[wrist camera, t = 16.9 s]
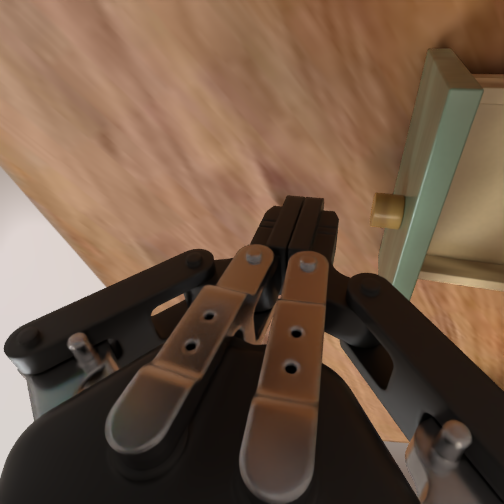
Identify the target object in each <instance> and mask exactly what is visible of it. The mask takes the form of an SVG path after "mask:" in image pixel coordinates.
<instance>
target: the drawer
mask: <svg viewBox="0 0 504 504" xmlns="http://www.w3.org/2000/svg"><path fill="white" fill-rule="evenodd" d="M370 226H371V227H380V228H385V230H384V235H383V239H382V243H381V247H380V251H379V255H378V275H379V276H382V277H384V278H385V279H387V280H388V281H389V282H390V283H391V284H392V285H393V286H394V287H395V288H396V289H397V290H398V291H399V292H400V293H401V294H403V295H404V296H405V297H406V298H407V299H408V300H409V301H410V299H411V296H412V293H413V290H414V288H415V285H416V282H417V279H422V280H429V281H436V282H443V283H449V284H456V285H463V286H470V287H476V288H483V289H490V290H497V291H503V292H504V74H471V73H470V72H469V70H468V69H467V68H466V67H465V65H464V64H463V63H462V62H461V60H460V59H459V58H458V57H457V55H456V54H455V53H454V52H453V50H452V49H450V48H444V49H428V52H427V56H426V60H425V64H424V68H423V72H422V77H421V81H420V85H419V89H418V93H417V97H416V102H415V106H414V110H413V114H412V118H411V122H410V126H409V131H408V135H407V139H406V143H405V147H404V151H403V156H402V160H401V164H400V168H399V172H398V176H397V181H396V185H395V189H394V193H393V194H385V193H375V195H374V199H373V204H372V209H371V216H370Z"/></svg>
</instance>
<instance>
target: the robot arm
mask: <svg viewBox="0 0 504 504" xmlns="http://www.w3.org/2000/svg"><path fill="white" fill-rule="evenodd" d="M323 209H324V198H312V197H306V198H305V197H300V196H289V195H288V196H287V197H286V199H285V202H284V204H283V206H282V207H280V206H273V207H272V208H270V209H269V210H268V211H267V212H266V213H265V215H264V217H263V219H262V221H261V223H260V225H259V227H258V229H257V231H256V233H255V235H254V237H253V239H252V241H251V243H250V245H247V246H245V247H243V248H241V249H240V250H239V251H238V252H237V253H236V255H235V256H234V258H231V259H222V260H214V257H213V255H212V253H210V252H209V251H207V250H204V249H193V250H189V251H186V252H184V253H182V254H180V255H178V256H175V257H173V258H171V259H169V260H166V261H164V262H162V263H160V264H158V265H155V266H153V267H151V268H149V269H147V270H144V271H142V272H140V273H138V274H135V275H133V276H131V277H129V278H127V279H124V280H122V281H120V282H118V283H115V284H113V285H111V286H109V287H107V288H104V289H102V290H100V291H98V292H96V293H93V294H91V295H89V296H87V297H84V298H82V299H80V300H78V301H76V302H73V303H71V304H69V305H67V306H65V307H62V308H60V309H58V310H56V311H53V312H51V313H49V314H47V315H45V316H42V317H40V318H38V319H36V320H33V321H31V322H29V323H27V324H25V325H23V326H21V327H20V328H18V329H17V330H15V331H14V332H13V333H12V334H11V335H10V336H9V338H8V339H7V341H6V342H5V345H4V352H5V354H6V355H7V356H8V358H9V359H10V360H11V361H12V362H13V363H14V364H15V366H16V367H17V368H18V371H19V372H20V374H21V375H22V376H23V377H24V378H25V379H26V380H27V385H28V391H29V396H30V401H31V406H32V411H33V417H34V422H33V423H32V424H31V425H30V426H29V427H28V428H27V429H26V430H25V431H24V432H23V433H22V435H21V436H20V437H19V439H18V440H17V441H16V443H15V445H14V446H13V448H12V449H11V451H10V453H9V455H8V457H7V459H6V462H5V465H4V468H3V471H2V474H1V478H0V504H504V391H503V390H502V389H501V388H500V387H499V386H498V385H497V384H496V383H494V382H493V381H492V380H491V379H490V378H489V377H488V376H487V375H486V374H485V373H484V372H483V371H482V370H481V369H480V368H479V367H478V366H477V365H476V364H475V363H474V362H473V361H471V360H470V359H469V358H468V357H467V356H466V355H465V354H464V353H463V352H462V351H461V350H460V349H459V348H458V347H457V346H456V345H455V344H454V343H453V342H452V341H451V340H450V339H448V338H447V337H446V336H445V335H444V334H443V333H442V332H441V331H440V330H439V329H438V328H437V327H436V326H435V325H434V324H433V323H432V322H431V321H430V320H429V319H428V318H427V317H426V316H424V315H423V314H422V313H421V312H420V311H419V310H418V309H417V308H416V307H415V306H414V305H413V304H412V303H411V302H410V301H409V300H408V299H407V298H406V297H405V296H404V295H403V294H401V293H400V292H399V291H398V290H397V289H396V288H395V287H394V286H393V285H392V284H391V283H390V282H389V281H388V280H387V279H385V278H384V277H382V276H379V275H377V274H372V273H360V274H357V275H354V276H353V277H351V278H350V277H347V276H345V275H342V274H341V273H339V272H338V271H337V270H336V269H335V268H334V267H333V261H334V256H335V250H336V242H337V233H338V223H339V219H338V217H337V215H336V213H335V212H333V211H323ZM183 293H184V296H185V300H184V301H182V302H180V303H178V304H176V305H174V306H172V307H170V308H168V309H166V310H164V311H162V312H160V313H158V314H156V315H154V316H151V313H152V311H153V310H154V309H155V308H156V307H157V306H159V305H161V304H163V303H165V302H167V301H169V300H171V299H173V298H175V297H177V296H179V295H181V294H183ZM279 295H281V298H280V299H278V296H279ZM272 318H273V319H272ZM271 320H272V323H271V328H270V332H269V337H268V341H267V345H261V343H262V341H263V338H264V336H265V334H266V331H267V329H268V327H269V325H270V322H271ZM324 332H326V333H328V334H330V335H332V336H334V337H336V338H338V339H340V345H341V347H342V349H343V350H344V351H345V353H346V354H347V356H348V357H349V358H350V360H351V361H352V363H353V364H354V365H355V367H356V368H357V369H358V371H359V372H360V374H361V375H362V376H363V378H364V379H365V381H366V382H367V383H368V385H369V386H370V388H371V389H372V390H373V392H374V393H375V394H376V396H377V397H378V399H379V400H380V401H381V403H382V404H383V406H384V407H385V408H386V410H387V411H388V413H389V414H390V415H391V417H392V418H393V420H394V421H395V422H396V424H397V425H398V426H399V428H400V429H401V431H402V432H403V433H404V435H405V436H406V438H407V439H408V440H409V442H410V443H409V445H408V447H407V450H406V454H405V462H406V466H407V469H408V472H409V474H410V475H411V477H412V479H413V481H414V484H415V486H416V490H417V496H418V497H417V496H416V494H415V492H414V491H413V490H412V488H411V486H410V484H409V483H408V481H407V480H406V478H405V476H404V475H403V473H402V472H401V470H400V468H399V467H398V465H397V463H396V462H395V460H394V459H393V457H392V455H391V454H390V452H389V450H388V449H387V447H386V446H385V444H384V442H383V441H382V439H381V438H380V436H379V434H378V433H377V431H376V429H375V428H374V426H373V425H372V423H371V421H370V420H369V418H368V417H367V415H366V413H365V412H364V410H363V408H362V407H361V405H360V404H359V402H358V400H357V399H356V397H355V395H354V394H353V392H352V391H351V389H350V388H349V386H348V385H347V384H346V382H345V381H344V380H343V379H342V378H341V377H340V376H339V375H338V374H337V373H336V372H335V371H333V370H332V369H331V368H329V367H328V366H326V365H324V364H323V363H322V352H323V339H324Z"/></svg>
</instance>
